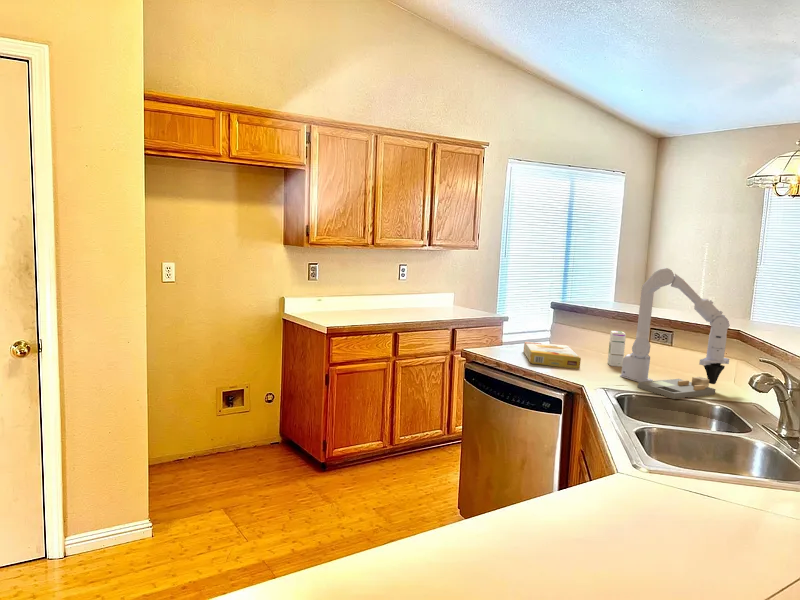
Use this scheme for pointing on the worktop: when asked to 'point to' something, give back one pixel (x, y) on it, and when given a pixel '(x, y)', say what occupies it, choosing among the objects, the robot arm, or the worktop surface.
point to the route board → (676, 388)
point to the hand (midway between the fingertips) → (711, 383)
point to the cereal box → (551, 355)
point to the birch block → (700, 381)
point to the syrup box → (616, 348)
